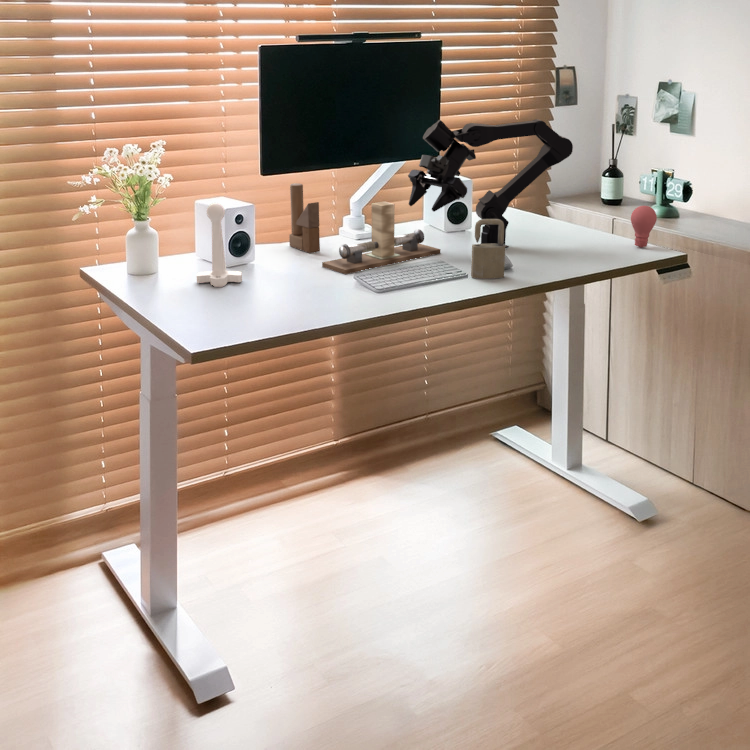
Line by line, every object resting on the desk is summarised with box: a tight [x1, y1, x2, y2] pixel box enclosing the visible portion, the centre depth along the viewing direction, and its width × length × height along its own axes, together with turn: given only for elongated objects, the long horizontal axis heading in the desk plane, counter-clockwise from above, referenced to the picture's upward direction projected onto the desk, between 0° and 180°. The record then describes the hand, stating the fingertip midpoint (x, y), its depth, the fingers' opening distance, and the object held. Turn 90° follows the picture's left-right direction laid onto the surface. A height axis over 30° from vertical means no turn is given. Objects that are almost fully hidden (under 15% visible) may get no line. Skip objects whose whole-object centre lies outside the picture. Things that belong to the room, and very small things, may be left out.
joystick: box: [196, 202, 243, 288], centre depth 242 cm, size 11×8×20 cm
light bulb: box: [630, 205, 658, 249], centre depth 278 cm, size 7×7×12 cm
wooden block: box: [288, 182, 321, 254], centre depth 276 cm, size 4×11×18 cm, turn 36°
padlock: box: [470, 218, 507, 280], centre depth 249 cm, size 4×8×15 cm, turn 94°
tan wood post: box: [371, 200, 396, 257], centre depth 264 cm, size 5×4×14 cm
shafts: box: [338, 229, 425, 264], centre depth 266 cm, size 28×4×5 cm, turn 130°
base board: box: [321, 243, 441, 275], centre depth 267 cm, size 34×10×2 cm, turn 130°
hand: (421, 207), depth 266 cm, fingers open, 9 cm apart
